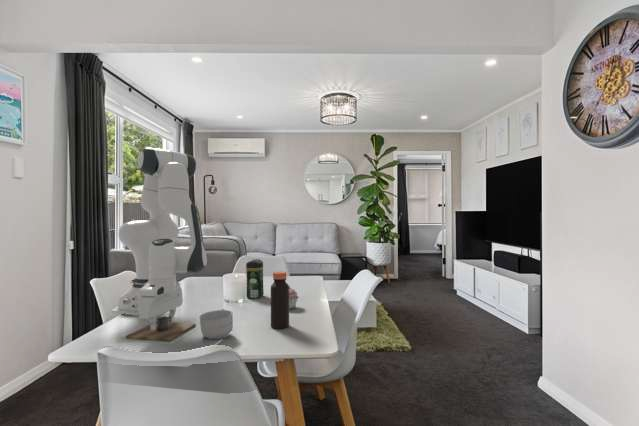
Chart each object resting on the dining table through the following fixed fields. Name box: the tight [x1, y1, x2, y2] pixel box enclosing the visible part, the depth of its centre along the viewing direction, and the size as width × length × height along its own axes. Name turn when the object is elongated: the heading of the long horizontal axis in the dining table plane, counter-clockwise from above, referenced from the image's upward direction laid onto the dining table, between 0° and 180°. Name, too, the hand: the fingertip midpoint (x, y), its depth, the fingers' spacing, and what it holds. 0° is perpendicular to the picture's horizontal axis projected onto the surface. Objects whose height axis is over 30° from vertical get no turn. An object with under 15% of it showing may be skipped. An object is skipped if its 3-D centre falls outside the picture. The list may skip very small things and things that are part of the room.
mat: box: [116, 324, 201, 345], centre depth 127 cm, size 20×20×1 cm
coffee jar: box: [245, 259, 264, 300], centre depth 182 cm, size 10×8×19 cm
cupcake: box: [289, 285, 299, 310], centre depth 161 cm, size 9×9×10 cm
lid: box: [125, 316, 197, 342], centre depth 127 cm, size 16×16×5 cm
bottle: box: [270, 270, 290, 330], centre depth 134 cm, size 7×7×20 cm
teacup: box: [199, 308, 234, 340], centre depth 125 cm, size 14×11×8 cm
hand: (162, 325), depth 127 cm, fingers open, 8 cm apart
